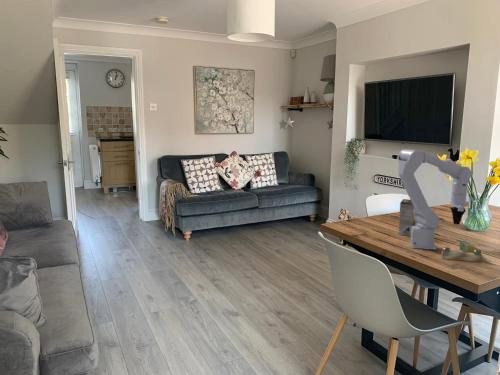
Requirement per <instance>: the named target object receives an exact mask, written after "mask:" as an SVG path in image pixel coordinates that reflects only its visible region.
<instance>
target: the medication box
mask: <svg viewBox="0 0 500 375" xmlns="http://www.w3.org/2000/svg"><path fill="white" fill-rule="evenodd" d="M474 250H480V251H481V252H482V250H481V249H479V248H478V247H476V246H474V245H473V244H471V243H470V242H467V241H466V240H464V241H463V240H461V241H459V251H460V252H467V253H474Z"/></svg>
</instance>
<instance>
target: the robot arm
mask: <svg viewBox="0 0 500 375" xmlns="http://www.w3.org/2000/svg"><path fill="white" fill-rule="evenodd" d="M396 160H397V162H398V176H399V178H400V180H401V183H402V184H403V186H404V189H405V191H406V193H407V195H408V197H409V200H411V202H412V204H413V206H414V208H415V209H414V210H413V213H414V220H415V226H412V229H411V236H410V241H409V242H410V246H411V248H412V249H422V250H423V249H424V250H436V249H437V248H436V246H435V233H436V228H437V227H438V226H439V224H440V216H439V215H438V214H436V212H435V211H434V209H432V207H430V205H428V203H427V202H428V201H427V200H426V198H425V196H424V194H423V192H422V190H421V187H420V185H419V183H418V181H417V178H416V176H415V172H416V171H417V170H418V169H419V167H420V166H421V165H422V164H425V163H427V164H429V165H431V166H434V167H437V169H438V171H439V172H441V173H443V174H444V175H446V176H447V175H448V176H450V177H451V178H452V186H451V196H450V202H449V203H450V204H449V205H450V207H449V210H450V211H451V215H452V221H453V224H454V225H460V223H461V220H462V218H463V216H464V214H465V213H466V210H467V209H465V207H469V203H467V190H468V184H469V182H470V178H472V174H473V173H472V172H471V169H470V168H469V167H468V166H462V164H461V163H459V162H454V161H453V160H452V159H450V158H445V159H441V158H439V157H436V156H434V155H432V154H431V153H428V152H426V151H422V150H419V149H409V148H403V149H401V150H400V151H399V153H398V155H397V157H396ZM451 206H452V207H451Z"/></svg>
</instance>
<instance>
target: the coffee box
mask: <svg viewBox="0 0 500 375" xmlns="http://www.w3.org/2000/svg"><path fill="white" fill-rule="evenodd" d="M414 209H415V208H414V206H413V204H412V202H411V200H410V199H406V198H405V199H404V198H402V200H401V201H400V204H399V218H398V219H399V220H398V221H399V222H398V235H399V236H407V237H411V229H412V226H416V221H415V220H414V213H413V210H414Z"/></svg>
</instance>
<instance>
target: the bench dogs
mask: <svg viewBox="0 0 500 375" xmlns="http://www.w3.org/2000/svg"><path fill="white" fill-rule="evenodd" d="M442 250H443V252H446V253H449V252H450V251H451V248H450V247H448V246H447V247H446V246H444V247H443V248H442ZM480 250H481V249H479V250H474V254H475V255H481V254H482V250H481V251H480Z"/></svg>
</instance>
